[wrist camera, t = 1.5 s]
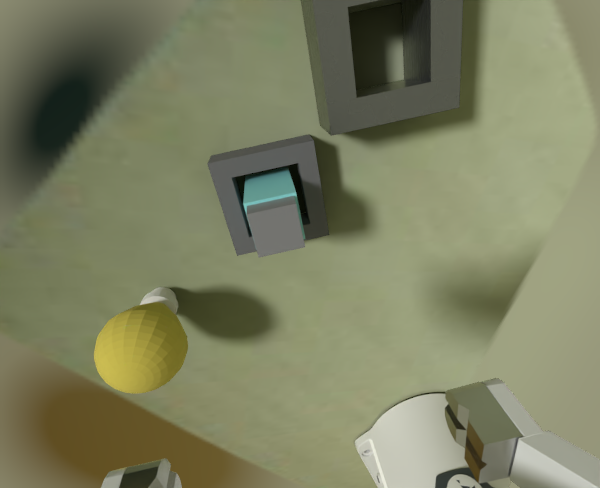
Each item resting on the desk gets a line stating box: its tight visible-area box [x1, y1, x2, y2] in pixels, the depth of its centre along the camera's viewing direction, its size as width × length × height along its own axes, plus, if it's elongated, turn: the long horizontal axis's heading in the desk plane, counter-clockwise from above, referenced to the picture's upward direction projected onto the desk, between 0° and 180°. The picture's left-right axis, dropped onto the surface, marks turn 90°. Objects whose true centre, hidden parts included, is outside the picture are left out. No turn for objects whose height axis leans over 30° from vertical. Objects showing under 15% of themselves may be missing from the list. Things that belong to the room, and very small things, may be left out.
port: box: [301, 0, 463, 136], centre depth 23 cm, size 9×9×5 cm
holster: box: [208, 135, 329, 255], centre depth 28 cm, size 8×8×2 cm
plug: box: [243, 167, 305, 257], centre depth 26 cm, size 4×4×8 cm
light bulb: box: [94, 287, 188, 393], centre depth 28 cm, size 7×7×10 cm
